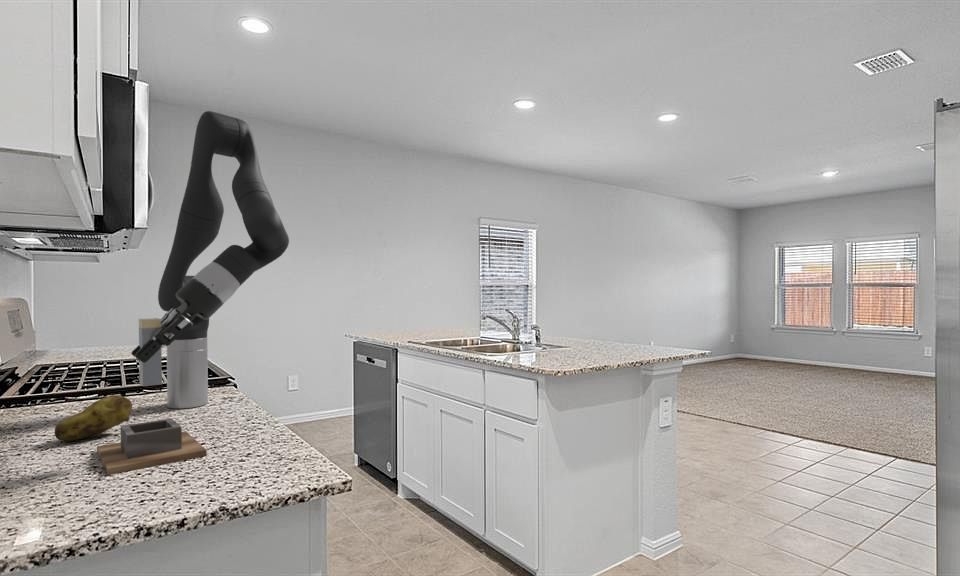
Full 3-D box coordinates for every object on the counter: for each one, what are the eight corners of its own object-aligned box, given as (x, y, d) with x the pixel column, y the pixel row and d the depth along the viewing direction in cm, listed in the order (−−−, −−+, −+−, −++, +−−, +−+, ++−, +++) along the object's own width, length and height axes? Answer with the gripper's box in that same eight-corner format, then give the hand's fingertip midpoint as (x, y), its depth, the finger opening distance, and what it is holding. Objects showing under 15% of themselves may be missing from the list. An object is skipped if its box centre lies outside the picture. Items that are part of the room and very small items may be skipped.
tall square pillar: (139, 383, 100) (138, 319, 100) (158, 381, 102) (157, 318, 102) (142, 386, 98) (141, 320, 97) (161, 384, 100) (160, 319, 99)
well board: (97, 451, 101) (96, 424, 101) (186, 436, 111) (185, 412, 111) (107, 474, 89) (107, 444, 89) (206, 455, 99) (206, 428, 99)
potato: (57, 436, 111) (57, 398, 111) (132, 427, 118) (132, 390, 118) (53, 447, 104) (52, 405, 104) (132, 436, 111) (132, 397, 111)
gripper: (185, 277, 110) (114, 341, 102) (203, 276, 99) (125, 348, 91) (213, 302, 113) (147, 366, 106) (234, 304, 103) (161, 376, 95)
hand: (137, 358), depth 99 cm, fingers closed on tall square pillar, 3 cm apart
